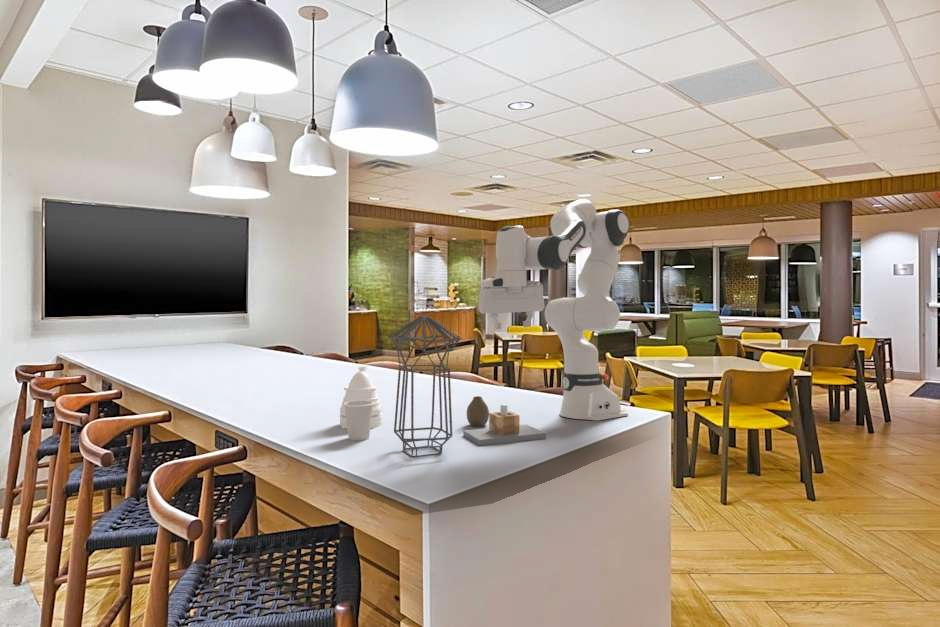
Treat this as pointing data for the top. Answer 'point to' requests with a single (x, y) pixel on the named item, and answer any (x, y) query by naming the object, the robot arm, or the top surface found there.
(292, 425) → the top surface
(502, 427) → the brown hollow square block
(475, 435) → the board
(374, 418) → the honey pot
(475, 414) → the vase
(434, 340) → the geometric lantern
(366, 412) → the dixie cup
